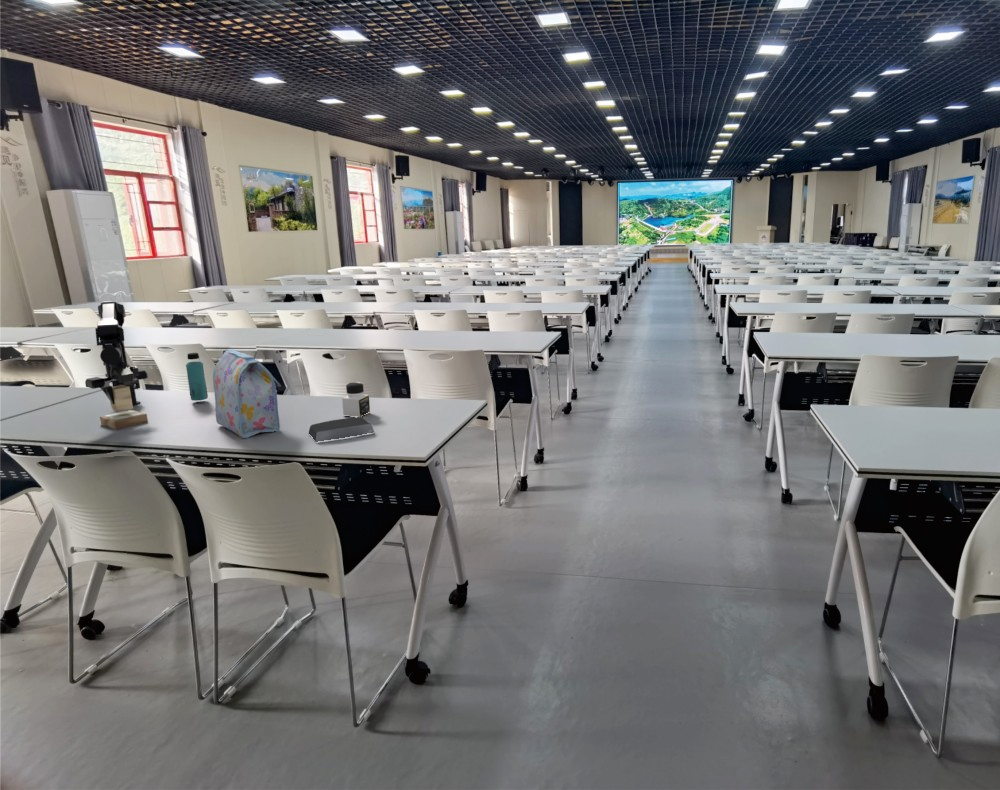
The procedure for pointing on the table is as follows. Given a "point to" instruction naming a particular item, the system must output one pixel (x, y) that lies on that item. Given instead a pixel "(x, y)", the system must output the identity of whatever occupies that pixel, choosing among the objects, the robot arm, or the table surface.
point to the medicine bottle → (355, 400)
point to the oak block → (121, 398)
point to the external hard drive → (340, 429)
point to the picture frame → (123, 419)
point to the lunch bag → (245, 395)
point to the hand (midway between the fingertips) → (121, 402)
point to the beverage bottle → (196, 378)
